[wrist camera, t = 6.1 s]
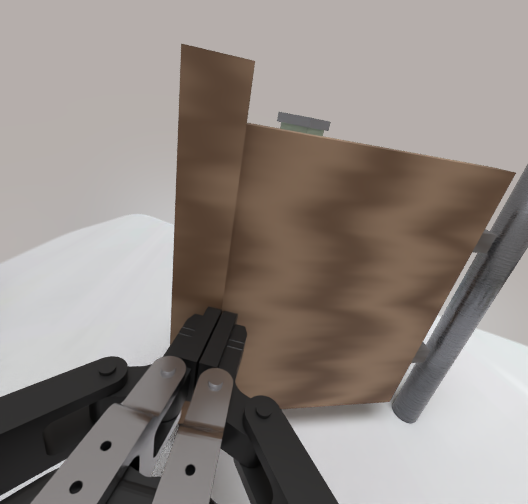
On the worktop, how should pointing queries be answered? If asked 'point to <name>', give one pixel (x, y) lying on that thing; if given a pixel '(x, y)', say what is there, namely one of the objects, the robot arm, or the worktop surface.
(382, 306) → the gate
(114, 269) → the worktop surface
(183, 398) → the robot arm
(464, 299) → the hinge post
